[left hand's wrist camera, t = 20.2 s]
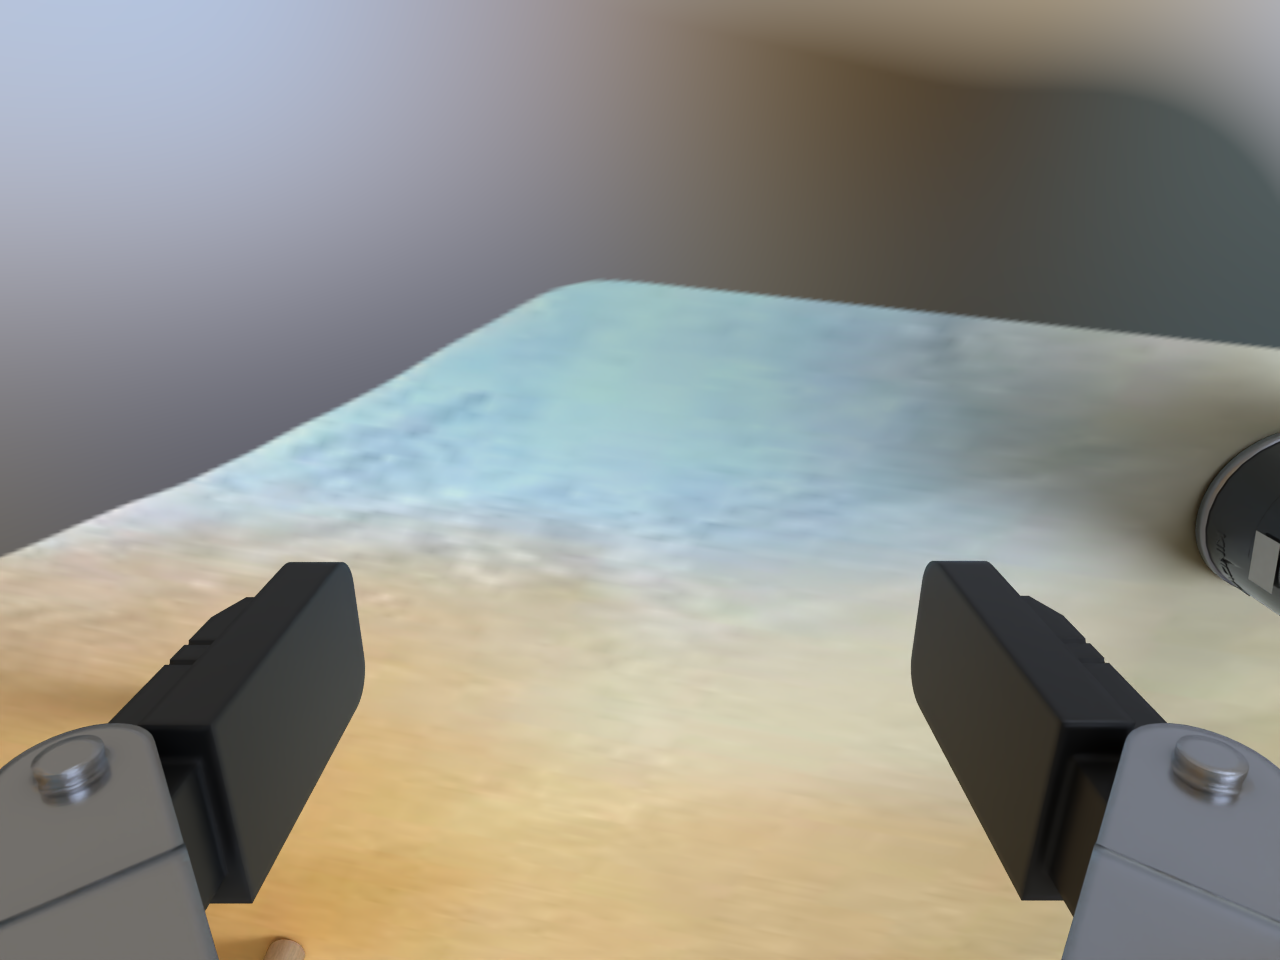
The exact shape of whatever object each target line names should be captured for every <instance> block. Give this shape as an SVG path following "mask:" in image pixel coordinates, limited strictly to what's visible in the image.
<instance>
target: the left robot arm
mask: <svg viewBox="0 0 1280 960" xmlns="http://www.w3.org/2000/svg"><path fill="white" fill-rule="evenodd" d="M1196 541H1197V545H1198V549H1199V552H1200V554H1201V556H1202V558H1203V560H1204V562H1205V563H1206V564H1207V566H1208V567H1209V568H1210V569H1211V570H1212V571H1213V572H1214V573H1215V574H1216V575H1218V576H1219V577H1220V578H1222V579H1223V580H1225V581H1226V582H1228V583H1229V584H1231V585H1233V586H1235V587H1237V588H1239V589H1240V590H1241V591H1243V592H1244V593H1246V594H1247V595H1249V596H1252V597H1253V598H1254V599H1256V600H1257V601H1259V602H1260V603H1262V604H1263V605H1265V606H1266V607H1268V608H1269V609H1270V610H1272V611H1273V612H1275V613H1276V614H1277V615H1279V616H1280V433H1276V434H1274V435H1271V436H1269V437H1266V438H1264V439H1262V440H1260V441H1258V442H1256V443H1254V444H1253V445H1251V446H1249V447H1248V448H1246V449H1245V450H1243V451H1242V452H1241V453H1239V454H1238V455H1237V456H1235V457H1234V458H1233V459H1232V460H1231V461H1230V462H1229V463H1228V464H1227V465H1226V466H1225V467H1224V468H1223V469H1222V470H1221V471H1220V472H1219V473H1218V475H1217V476H1216V477H1215V478H1214V480H1213V481H1212V483H1211V484H1210V486H1209V487H1208V489H1207V491H1206V493H1205V495H1204V497H1203V499H1202V501H1201V504H1200V507H1199V510H1198V514H1197V519H1196ZM364 678H365V660H364V652H363V645H362V639H361V632H360V625H359V618H358V611H357V604H356V597H355V590H354V583H353V577H352V574H351V571H350V569H349V567H348V565H347V564H346V563H344V562H289V563H286V564H285V565H284V566H283V567H282V568H281V569H280V570H279V571H278V572H277V573H276V574H275V575H274V577H273V578H272V579H271V580H270V581H269V582H268V583H267V584H266V585H265V586H264V587H263V589H262V590H261V591H260V592H259V593H258V594H257V595H256V596H255V597H246V598H244V599H242V600H241V601H239V602H237V603H235V604H234V605H232V606H230V607H228V608H227V609H225V610H223V611H221V612H220V613H218V614H216V615H214V616H213V617H211V618H210V619H209V620H208V621H207V622H206V623H205V624H204V625H203V626H202V627H201V628H200V629H199V630H198V632H197V633H196V634H195V635H194V636H193V637H192V638H191V639H190V640H189V645H184V646H183V647H182V648H181V649H180V650H179V651H178V652H177V653H176V654H175V655H174V656H173V657H172V658H171V659H170V664H169V665H164V666H163V667H162V668H161V669H160V670H159V671H158V672H157V673H156V675H155V676H154V677H153V678H152V679H151V680H150V681H149V682H148V683H147V684H146V685H145V686H144V687H143V688H142V689H141V690H140V691H139V692H138V693H137V694H136V695H135V696H134V697H133V698H132V699H131V700H130V701H129V702H128V703H127V704H126V705H125V706H124V707H123V708H122V709H121V710H120V711H119V712H118V713H117V714H116V715H115V716H114V718H113V719H112V720H111V721H110V722H109V723H107V724H99V725H93V726H88V727H83V728H79V729H76V730H72V731H69V732H66V733H63V734H60V735H57V736H55V737H52V738H50V739H48V740H46V741H43V742H41V743H39V744H37V745H35V746H33V747H31V748H30V749H28V750H26V751H24V752H23V753H21V754H20V755H18V756H17V757H15V758H14V759H12V760H11V761H10V762H8V763H7V764H6V765H5V766H3V767H2V768H1V769H0V960H219V959H218V956H217V952H216V949H215V945H214V942H213V938H212V935H211V931H210V928H209V924H208V921H207V917H206V914H205V910H206V909H207V907H208V905H209V903H253V901H254V899H255V897H256V895H257V893H258V892H259V890H260V888H261V886H262V884H263V882H264V880H265V879H266V877H267V875H268V873H269V871H270V869H271V867H272V865H273V864H274V862H275V860H276V858H277V856H278V854H279V852H280V850H281V849H282V847H283V845H284V843H285V841H286V839H287V837H288V836H289V834H290V832H291V830H292V828H293V826H294V824H295V822H296V821H297V819H298V817H299V815H300V813H301V811H302V809H303V807H304V806H305V804H306V802H307V800H308V798H309V796H310V794H311V793H312V791H313V789H314V787H315V785H316V783H317V781H318V779H319V778H320V776H321V774H322V772H323V770H324V768H325V766H326V764H327V763H328V761H329V759H330V757H331V755H332V753H333V751H334V750H335V748H336V746H337V744H338V742H339V740H340V738H341V736H342V735H343V733H344V731H345V729H346V727H347V725H348V723H349V722H350V720H351V718H352V716H353V714H354V712H355V710H356V708H357V706H358V704H359V702H360V699H361V695H362V691H363V686H364ZM911 678H912V686H913V691H914V694H915V698H916V701H917V703H918V705H919V707H920V709H921V711H922V713H923V715H924V717H925V719H926V721H927V723H928V724H929V726H930V728H931V730H932V732H933V734H934V736H935V738H936V740H937V741H938V743H939V745H940V747H941V749H942V751H943V753H944V755H945V757H946V758H947V760H948V762H949V764H950V766H951V768H952V770H953V772H954V774H955V775H956V777H957V779H958V781H959V783H960V785H961V787H962V789H963V791H964V793H965V794H966V796H967V798H968V800H969V802H970V804H971V806H972V808H973V810H974V811H975V813H976V815H977V817H978V819H979V821H980V823H981V825H982V827H983V828H984V830H985V832H986V834H987V836H988V838H989V840H990V842H991V844H992V845H993V847H994V849H995V851H996V853H997V855H998V857H999V859H1000V861H1001V863H1002V864H1003V866H1004V868H1005V870H1006V872H1007V874H1008V876H1009V878H1010V880H1011V881H1012V883H1013V885H1014V887H1015V889H1016V891H1017V893H1018V895H1019V897H1020V898H1021V900H1064V902H1065V903H1066V905H1067V907H1068V909H1069V910H1070V912H1071V914H1072V915H1073V921H1072V924H1071V928H1070V931H1069V935H1068V938H1067V942H1066V945H1065V949H1064V952H1063V956H1062V959H1061V960H1280V769H1279V768H1278V767H1277V766H1275V765H1274V764H1273V763H1272V762H1270V761H1269V760H1268V759H1266V758H1265V757H1263V756H1262V755H1260V754H1259V753H1257V752H1256V751H1254V750H1252V749H1250V748H1249V747H1247V746H1245V745H1243V744H1241V743H1239V742H1237V741H1234V740H1232V739H1230V738H1228V737H1225V736H1223V735H1220V734H1217V733H1214V732H1211V731H1208V730H1204V729H1201V728H1197V727H1192V726H1187V725H1181V724H1173V723H1167V722H1166V721H1165V720H1164V719H1163V718H1162V717H1161V716H1160V715H1159V714H1158V713H1157V712H1156V711H1155V710H1154V709H1153V708H1152V707H1151V706H1150V705H1149V704H1148V703H1147V702H1146V701H1145V700H1144V699H1143V698H1142V697H1141V696H1140V695H1139V693H1138V692H1137V691H1136V690H1135V689H1134V688H1133V687H1132V686H1131V685H1130V684H1129V683H1128V682H1127V681H1126V680H1125V679H1124V678H1123V677H1122V676H1121V675H1120V674H1119V673H1118V672H1117V671H1116V670H1115V669H1114V668H1113V667H1112V666H1111V665H1110V664H1109V663H1105V662H1104V657H1103V656H1102V655H1101V654H1100V653H1099V652H1098V651H1097V650H1096V649H1095V648H1094V647H1093V646H1092V645H1091V644H1090V643H1086V642H1085V638H1084V637H1083V636H1082V635H1081V634H1080V633H1079V631H1078V630H1077V629H1076V628H1075V627H1074V626H1073V625H1072V624H1071V623H1070V622H1069V621H1068V620H1067V619H1066V618H1065V617H1064V616H1063V615H1061V614H1059V613H1058V612H1056V611H1054V610H1052V609H1051V608H1049V607H1047V606H1045V605H1044V604H1042V603H1040V602H1038V601H1037V600H1035V599H1033V598H1031V597H1030V596H1020V595H1019V594H1018V593H1017V592H1016V591H1015V590H1014V588H1013V587H1012V586H1011V585H1010V584H1009V583H1008V582H1007V581H1006V580H1005V579H1004V577H1003V576H1002V575H1001V574H1000V573H999V572H998V571H997V570H996V569H995V568H994V566H993V565H992V564H990V563H989V562H987V561H931V562H930V563H929V564H928V565H927V567H926V569H925V571H924V575H923V580H922V586H921V593H920V600H919V607H918V615H917V622H916V629H915V636H914V643H913V650H912V657H911Z"/></svg>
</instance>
